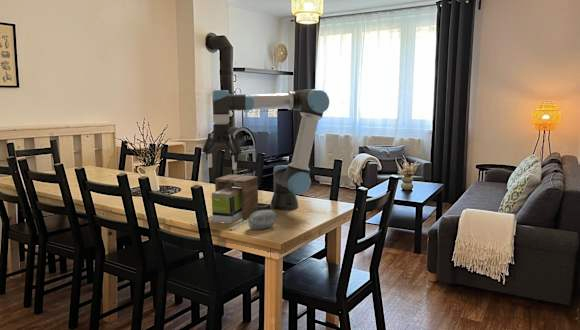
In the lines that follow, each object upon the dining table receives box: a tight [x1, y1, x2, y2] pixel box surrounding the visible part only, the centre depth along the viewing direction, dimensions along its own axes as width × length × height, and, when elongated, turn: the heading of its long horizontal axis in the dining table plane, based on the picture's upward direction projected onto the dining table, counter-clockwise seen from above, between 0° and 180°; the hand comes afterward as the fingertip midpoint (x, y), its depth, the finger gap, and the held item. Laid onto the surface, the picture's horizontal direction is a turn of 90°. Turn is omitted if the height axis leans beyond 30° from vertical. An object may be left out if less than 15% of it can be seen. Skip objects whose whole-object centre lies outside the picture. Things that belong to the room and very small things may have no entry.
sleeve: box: [214, 174, 259, 221], centre depth 228 cm, size 16×14×19 cm
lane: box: [190, 215, 249, 230], centre depth 215 cm, size 23×16×1 cm
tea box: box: [211, 187, 243, 224], centre depth 221 cm, size 15×10×15 cm
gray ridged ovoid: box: [247, 209, 277, 231], centre depth 207 cm, size 14×10×10 cm
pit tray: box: [258, 202, 272, 211], centre depth 241 cm, size 22×7×3 cm, turn 66°
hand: (222, 168), depth 214 cm, fingers open, 13 cm apart
